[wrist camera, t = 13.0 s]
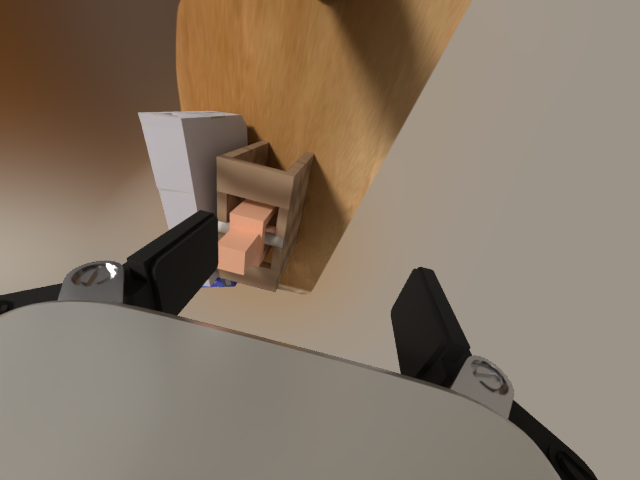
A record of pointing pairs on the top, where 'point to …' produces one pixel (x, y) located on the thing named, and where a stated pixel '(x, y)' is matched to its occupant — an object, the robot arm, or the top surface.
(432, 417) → the robot arm
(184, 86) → the top surface
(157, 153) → the game console
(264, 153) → the wooden rack
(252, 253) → the salmon stepped block
